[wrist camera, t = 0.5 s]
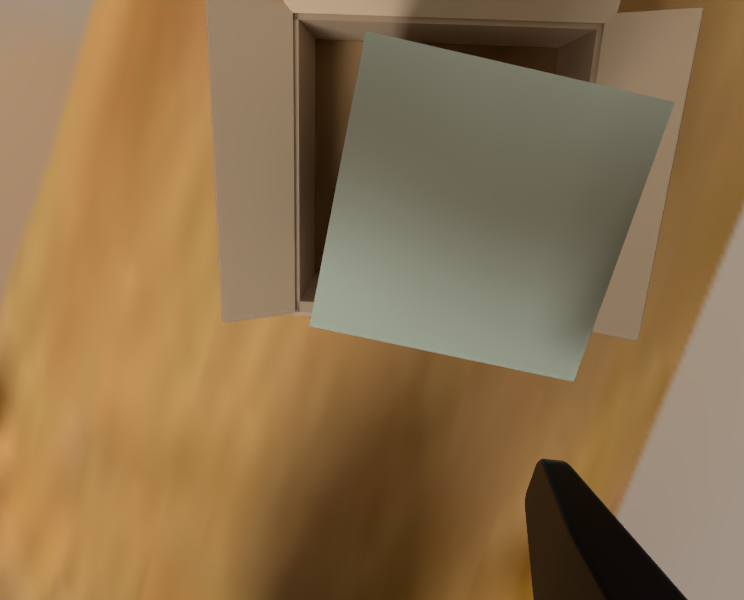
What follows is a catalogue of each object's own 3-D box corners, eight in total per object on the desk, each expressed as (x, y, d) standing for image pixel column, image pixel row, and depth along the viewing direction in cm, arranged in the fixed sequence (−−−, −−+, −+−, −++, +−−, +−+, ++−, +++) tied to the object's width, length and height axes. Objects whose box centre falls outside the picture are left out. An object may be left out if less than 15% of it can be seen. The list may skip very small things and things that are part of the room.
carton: (584, 300, 23) (640, 349, 18) (257, 285, 23) (219, 330, 18) (637, -26, 19) (726, -81, 14) (247, -38, 20) (197, -96, 15)
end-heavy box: (472, 241, 23) (573, 381, 10) (354, 215, 22) (308, 326, 10) (507, 116, 21) (675, 101, 9) (380, 87, 21) (365, 31, 8)
